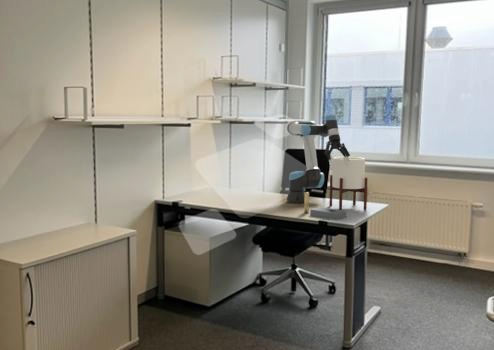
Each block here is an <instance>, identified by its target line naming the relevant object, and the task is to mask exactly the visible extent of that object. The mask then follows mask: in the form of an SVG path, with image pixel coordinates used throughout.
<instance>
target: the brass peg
mask: <svg viewBox="0 0 494 350" xmlns="http://www.w3.org/2000/svg"><path fill="white" fill-rule="evenodd" d="M304 193H305V196H304V203H303V205H304V206H303V208H304V209H303V213H304V214H309V213H310V205H309V204H310V192H309V191H304Z"/></svg>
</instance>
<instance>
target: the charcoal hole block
mask: <svg viewBox="0 0 494 350" xmlns="http://www.w3.org/2000/svg"><path fill="white" fill-rule="evenodd" d="M347 212H348V211H347V210H345V209H344V210H343V209H342V210H339V209H337V208H329V207H322V206H318V207H316V208H311V209H309V213H310V215H309V216H311V217H315V218H316V217H317V218H323V219H330V220H341V219H344V218H347Z"/></svg>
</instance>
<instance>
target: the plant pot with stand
mask: <svg viewBox="0 0 494 350" xmlns="http://www.w3.org/2000/svg"><path fill="white" fill-rule="evenodd" d="M332 160H333V164H332V174H330V175H329V207H332V206H333V191H338V192H339V199H338V200H339V201H338V210H343V194H345V193H347V192H352V194H353V195H352V206H356V203H357V197H356V196H357V193H362V194H363V210H364V211H366V210H367V205H368V204H367V203H368V201H367V199H368V177H365V176H366V173H365V172H366V158H365V157H360V156H349V157H348V160H349V161H348V163H349V166H347V167H346V166H345V161H344V156H334V157H332Z"/></svg>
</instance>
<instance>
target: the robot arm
mask: <svg viewBox="0 0 494 350" xmlns="http://www.w3.org/2000/svg"><path fill="white" fill-rule="evenodd" d="M324 119H325V120H324V121H325V123H323V124H318V123H316V121H315V120H294V121H290V122H289V123H287V126H286V129H287V130H286V131H287V132H288V133H289V134H290V135H292V136H300V139H301V140H302V143H303V148H304V149H303V152H304V158H305V165H306V169H305V170H295V171H292V172H290V173H289V177H288V194H287V197H286V203H288V204H293V205H301V204H303V205H304V196H305V189H317V188H319V189H321V188H322V187H323V185H324V182H325V174H324V172H321V169H320V167H319V165H318V158H317V150H316V143H315V138H316V136H320V137H322V138H327V137H328V141H327V142H325V144H326V145H325V148H324V149H325V150H324V155H325V156H326V157H327V160H328V162H329V163H328V164H329V165H330V166H333V156H332V151H333V150H337V151H339V152H340V153H341V155H342V157H344V161H345V166H346V167H347V166H349V163H348V161H349V160H348V157H351V154H350V153H349V151H348V148H347V147H346V146H345V143H344V142H342V143H341V137H340V136H341V135H340V130H339V125H338V119H337V117H336V115H335V114H328V115H326V116H325V118H324Z"/></svg>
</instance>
